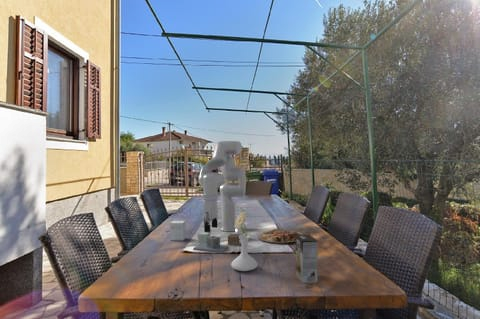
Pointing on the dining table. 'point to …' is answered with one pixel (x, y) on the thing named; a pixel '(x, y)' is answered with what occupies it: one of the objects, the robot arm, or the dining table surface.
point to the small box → (177, 230)
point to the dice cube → (213, 242)
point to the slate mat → (204, 248)
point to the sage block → (203, 237)
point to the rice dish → (279, 236)
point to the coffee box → (306, 258)
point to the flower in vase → (243, 248)
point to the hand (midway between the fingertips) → (211, 229)
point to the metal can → (239, 231)
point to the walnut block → (233, 239)
